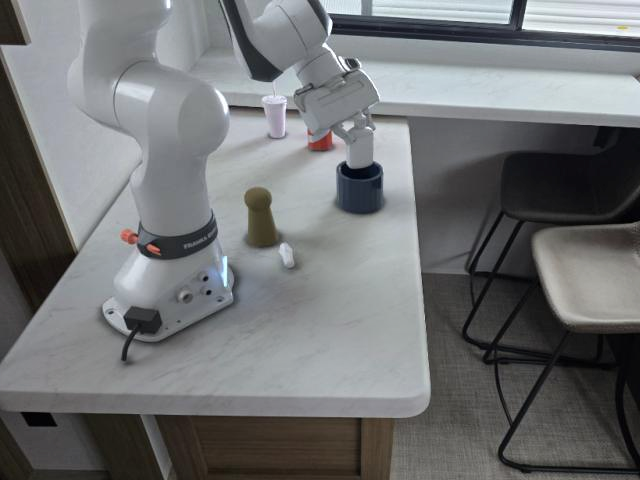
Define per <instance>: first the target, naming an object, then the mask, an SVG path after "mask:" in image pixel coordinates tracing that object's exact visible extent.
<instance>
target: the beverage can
mask: <svg viewBox="0 0 640 480" xmlns="http://www.w3.org/2000/svg"><path fill="white" fill-rule="evenodd" d="M306 127H307V126H306ZM306 129H307V145H308V147H310V148H311V149H313V150H314V151H319V152H322V151H327V150H328V149H330V148H331V147H332V146H333V131H332V130H331V129H330V130H328V131H326V132H324V133H322V134H321V135H319V136H315V135H314V134H312V133H311V132H310V131H309V129H308V127H307V128H306Z"/></svg>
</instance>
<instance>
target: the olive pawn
mask: <svg viewBox="0 0 640 480" xmlns="http://www.w3.org/2000/svg"><path fill="white" fill-rule="evenodd" d="M272 197H273V195H272V193H271V191H269V190H268V188H266V187H262V186H254V187H251V188H249V189H247V190H246V191H245V193H244V195H243V201H244V204H245V207H247V209H248V210H247V213H248V214H247V242H248V243H249V244H250V245H252V246H253V247H257V248H268V247H271V246H273V245H275V244H276V243H277V242H278V240H279V234H278V231H277V226H276V222H275V219H274V216H273V211H272V208H271V206H272V203H273V202H272V201H273V198H272Z"/></svg>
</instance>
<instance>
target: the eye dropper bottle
mask: <svg viewBox="0 0 640 480" xmlns="http://www.w3.org/2000/svg"><path fill="white" fill-rule="evenodd" d="M346 131H347V132H348V133H349V134H350V133H353V135H354V137H355V138H356V141H355V142H354V143H352V144H351V145H349V146H347V145H346V144H345V148H346V149H345V151H346V153H345V157H346V159H345V161H346V163H347V165H348V166H349V167H350V168H352V169H358V168H364V167H367V166H370V165H371V164H372V163H373V161H374V131H373V130H372V129H371V128H370V127H368V126H366V116H364V115H363V114H362V110H358V114H357V115H355V116H354V117H353V126H352V127H351V128H349V129H348V130H346Z"/></svg>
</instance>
